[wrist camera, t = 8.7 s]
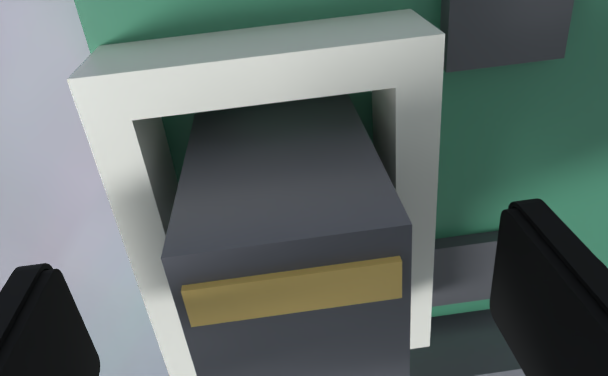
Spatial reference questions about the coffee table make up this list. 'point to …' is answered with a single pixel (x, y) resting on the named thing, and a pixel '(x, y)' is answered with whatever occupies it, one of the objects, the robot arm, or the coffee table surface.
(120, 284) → the coffee table surface
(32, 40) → the coffee table surface
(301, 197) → the plug
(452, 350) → the grey drawer with knob
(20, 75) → the coffee table surface
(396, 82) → the board
